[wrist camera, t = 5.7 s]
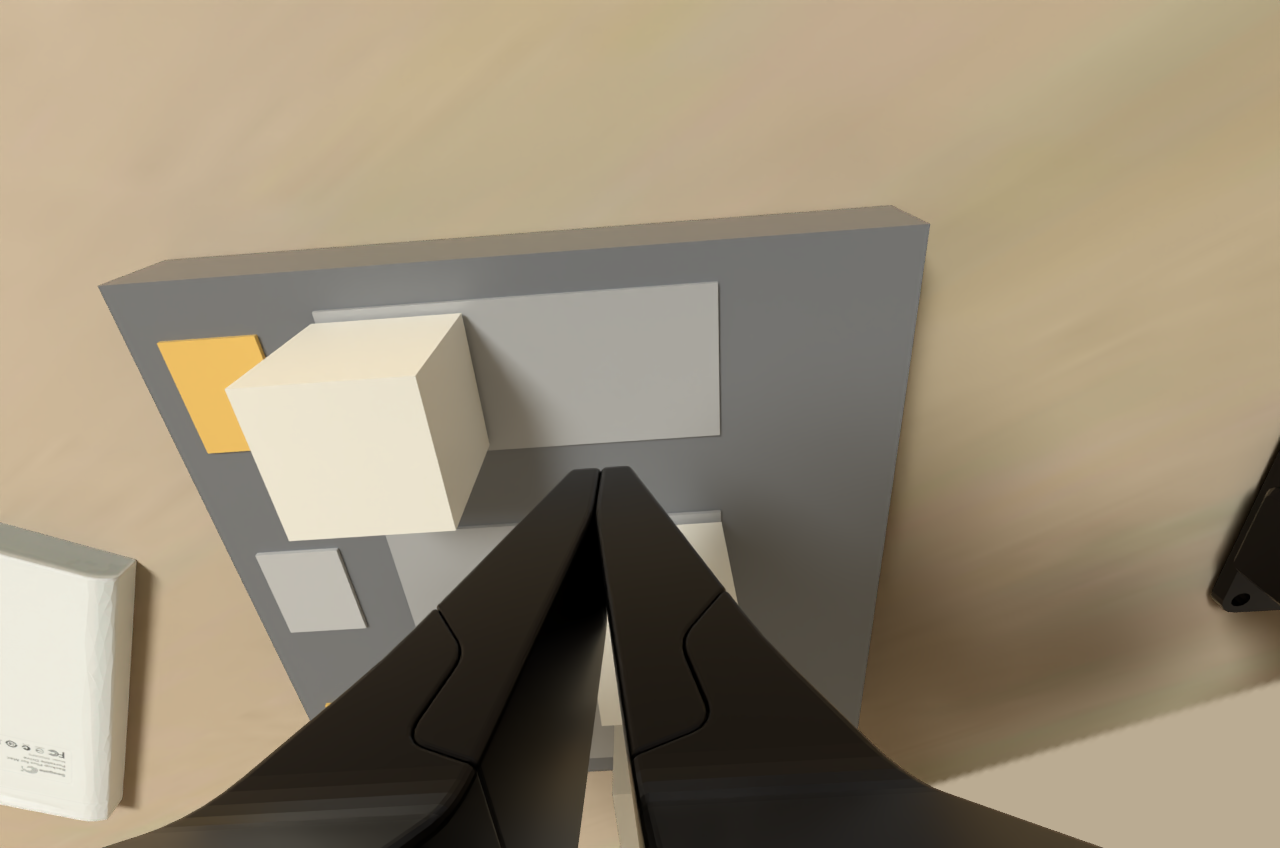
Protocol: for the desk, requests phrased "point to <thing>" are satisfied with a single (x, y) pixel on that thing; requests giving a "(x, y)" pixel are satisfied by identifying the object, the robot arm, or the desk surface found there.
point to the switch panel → (577, 412)
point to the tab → (366, 427)
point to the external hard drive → (63, 674)
